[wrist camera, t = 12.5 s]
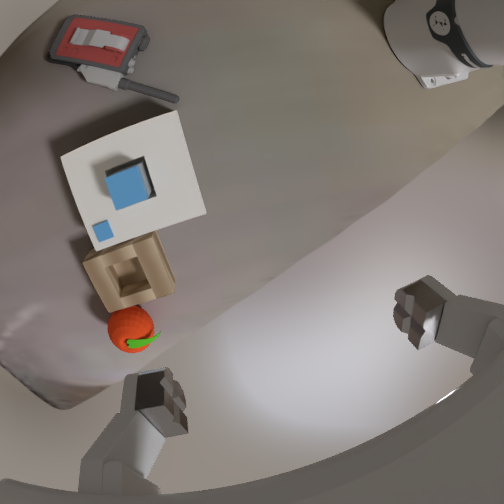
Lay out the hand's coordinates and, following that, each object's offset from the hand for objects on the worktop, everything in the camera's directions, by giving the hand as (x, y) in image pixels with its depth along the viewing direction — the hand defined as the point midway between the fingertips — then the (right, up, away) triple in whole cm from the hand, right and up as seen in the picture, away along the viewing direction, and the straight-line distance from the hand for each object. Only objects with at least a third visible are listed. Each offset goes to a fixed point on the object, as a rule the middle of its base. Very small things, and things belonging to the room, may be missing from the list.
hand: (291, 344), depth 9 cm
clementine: (-19, -6, +32) cm, 37 cm away
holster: (-18, +1, +28) cm, 33 cm away
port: (-15, +12, +24) cm, 31 cm away
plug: (-15, +12, +23) cm, 30 cm away
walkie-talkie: (-18, +27, +17) cm, 37 cm away
